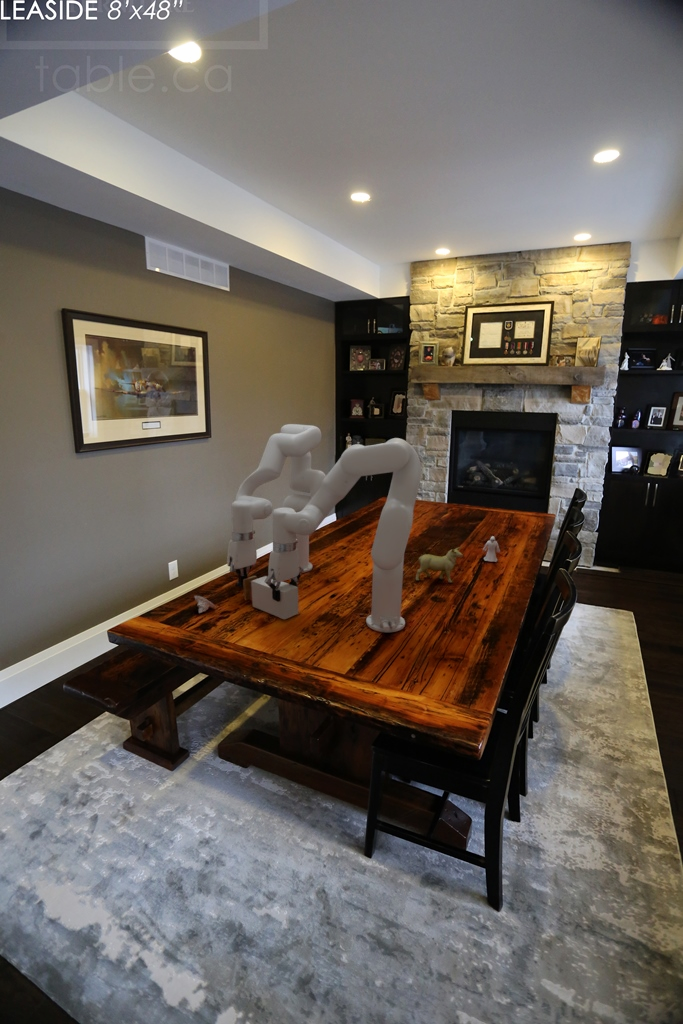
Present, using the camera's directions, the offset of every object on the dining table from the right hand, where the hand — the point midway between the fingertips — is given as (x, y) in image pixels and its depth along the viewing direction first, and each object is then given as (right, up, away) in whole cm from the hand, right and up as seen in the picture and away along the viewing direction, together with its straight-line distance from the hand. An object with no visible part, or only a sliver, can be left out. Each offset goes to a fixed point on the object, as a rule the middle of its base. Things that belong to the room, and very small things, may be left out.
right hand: (284, 596), depth 166 cm
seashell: (-28, -5, +4) cm, 28 cm away
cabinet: (-4, -5, +5) cm, 8 cm away
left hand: (-17, +2, +14) cm, 22 cm away
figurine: (+86, +6, +59) cm, 104 cm away
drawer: (-10, -3, +10) cm, 15 cm away
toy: (+57, 0, +34) cm, 66 cm away
